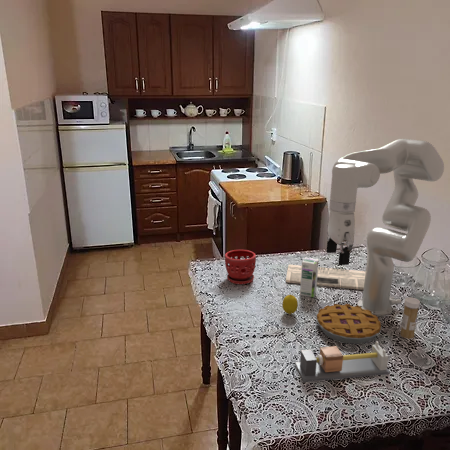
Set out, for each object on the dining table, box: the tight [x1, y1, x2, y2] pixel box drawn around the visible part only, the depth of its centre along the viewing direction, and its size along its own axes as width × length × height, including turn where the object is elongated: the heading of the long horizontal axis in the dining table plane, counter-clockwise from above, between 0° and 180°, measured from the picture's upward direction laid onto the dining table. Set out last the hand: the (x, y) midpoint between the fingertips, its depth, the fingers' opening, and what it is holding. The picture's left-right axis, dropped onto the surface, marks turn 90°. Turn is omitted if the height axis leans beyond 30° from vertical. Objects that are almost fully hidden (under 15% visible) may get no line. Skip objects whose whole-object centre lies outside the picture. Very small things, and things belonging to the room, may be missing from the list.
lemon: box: [281, 294, 299, 315], centre depth 156 cm, size 6×6×8 cm
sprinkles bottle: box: [399, 296, 421, 340], centre depth 142 cm, size 5×5×13 cm
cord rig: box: [294, 340, 391, 383], centre depth 126 cm, size 26×8×7 cm, turn 98°
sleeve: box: [319, 345, 344, 372], centre depth 125 cm, size 5×5×5 cm
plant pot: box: [224, 249, 257, 285], centre depth 182 cm, size 13×13×12 cm
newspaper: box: [285, 264, 366, 291], centre depth 187 cm, size 37×19×3 cm, turn 78°
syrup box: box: [299, 256, 320, 298], centre depth 170 cm, size 6×6×14 cm
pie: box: [315, 303, 383, 345], centre depth 147 cm, size 22×22×5 cm
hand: (337, 258), depth 134 cm, fingers open, 9 cm apart
